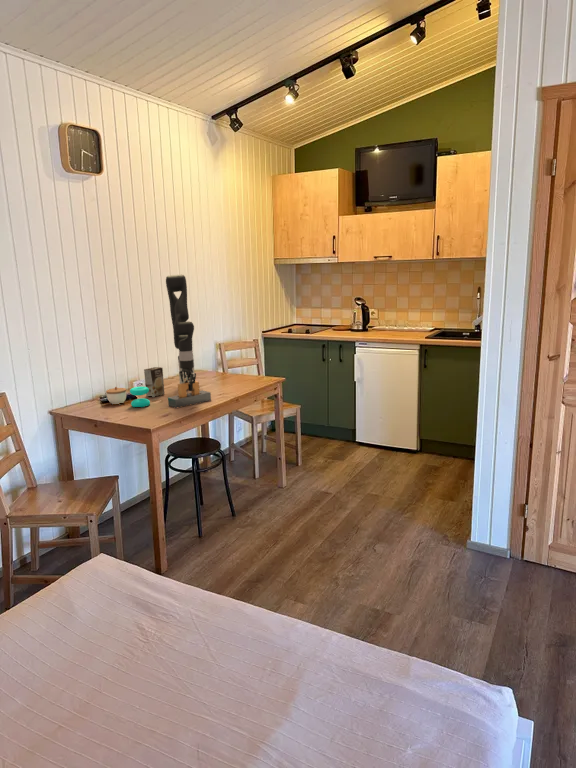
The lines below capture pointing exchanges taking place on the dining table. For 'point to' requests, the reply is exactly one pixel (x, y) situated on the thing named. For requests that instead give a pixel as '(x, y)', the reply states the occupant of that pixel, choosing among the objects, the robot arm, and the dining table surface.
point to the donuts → (142, 401)
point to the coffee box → (154, 381)
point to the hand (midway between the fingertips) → (188, 390)
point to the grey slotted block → (189, 399)
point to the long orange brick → (184, 387)
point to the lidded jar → (116, 395)
